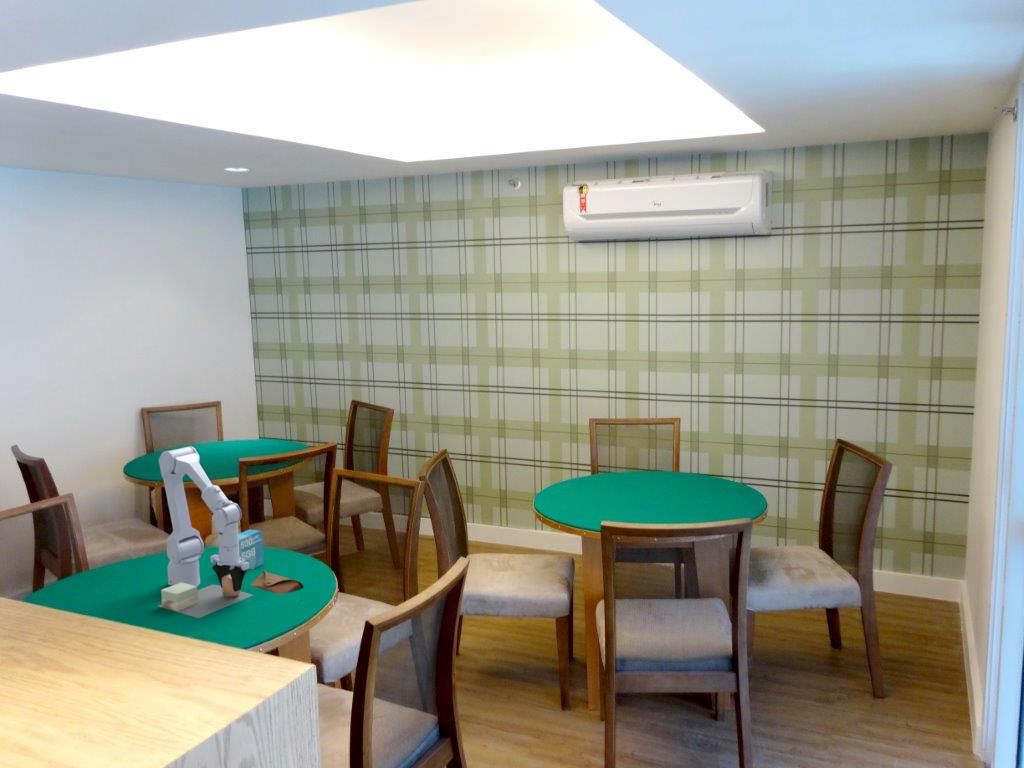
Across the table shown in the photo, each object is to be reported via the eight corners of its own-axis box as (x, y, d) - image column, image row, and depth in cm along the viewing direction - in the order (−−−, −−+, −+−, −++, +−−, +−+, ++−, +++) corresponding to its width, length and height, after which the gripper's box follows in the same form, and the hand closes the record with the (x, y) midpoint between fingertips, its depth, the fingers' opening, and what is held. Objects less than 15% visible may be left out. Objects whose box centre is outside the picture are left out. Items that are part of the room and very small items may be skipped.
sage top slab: (161, 598, 247) (161, 589, 247) (182, 590, 253) (181, 582, 253) (177, 602, 243) (176, 594, 243) (197, 594, 249) (197, 586, 249)
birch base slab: (162, 606, 247) (161, 598, 247) (182, 598, 253) (182, 590, 253) (177, 611, 244) (177, 602, 243) (198, 602, 250) (197, 594, 249)
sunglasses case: (243, 587, 264) (251, 566, 266) (259, 592, 269) (266, 572, 271) (283, 599, 254) (290, 577, 256) (298, 604, 260) (306, 582, 262)
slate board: (157, 609, 248) (157, 605, 248) (213, 587, 265) (213, 584, 265) (198, 621, 239) (198, 618, 238) (253, 598, 256) (253, 594, 255)
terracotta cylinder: (219, 594, 254) (218, 578, 253) (232, 589, 258) (231, 573, 257) (230, 597, 251) (229, 581, 250) (243, 592, 255) (242, 576, 255)
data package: (240, 575, 275) (238, 540, 273) (229, 574, 277) (227, 538, 275) (264, 564, 286) (262, 529, 284) (253, 562, 288) (251, 528, 286)
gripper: (201, 544, 253) (203, 588, 255) (234, 552, 245) (237, 597, 247) (220, 538, 259) (222, 581, 261) (253, 545, 251) (255, 589, 253)
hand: (231, 588), depth 254 cm, fingers closed on terracotta cylinder, 5 cm apart
